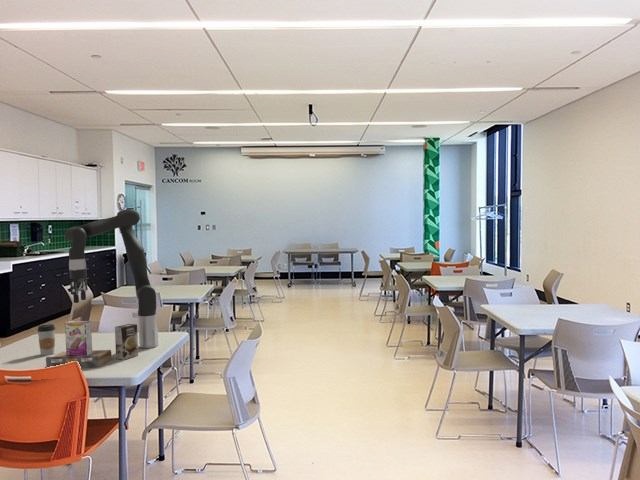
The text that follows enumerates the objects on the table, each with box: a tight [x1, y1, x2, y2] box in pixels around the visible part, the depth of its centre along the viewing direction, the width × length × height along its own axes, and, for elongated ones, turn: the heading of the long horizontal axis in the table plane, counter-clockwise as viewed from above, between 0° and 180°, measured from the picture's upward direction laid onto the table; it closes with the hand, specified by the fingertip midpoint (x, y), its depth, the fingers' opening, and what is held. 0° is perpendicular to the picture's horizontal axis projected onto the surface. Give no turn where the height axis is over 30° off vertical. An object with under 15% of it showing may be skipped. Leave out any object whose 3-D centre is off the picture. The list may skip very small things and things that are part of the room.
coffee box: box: [114, 323, 139, 361], centre depth 269 cm, size 9×6×16 cm
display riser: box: [45, 349, 112, 369], centre depth 260 cm, size 24×18×6 cm
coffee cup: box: [37, 323, 56, 356], centre depth 281 cm, size 8×8×15 cm
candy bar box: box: [64, 320, 93, 356], centre depth 259 cm, size 11×5×16 cm, turn 80°
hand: (80, 301), depth 262 cm, fingers open, 8 cm apart
